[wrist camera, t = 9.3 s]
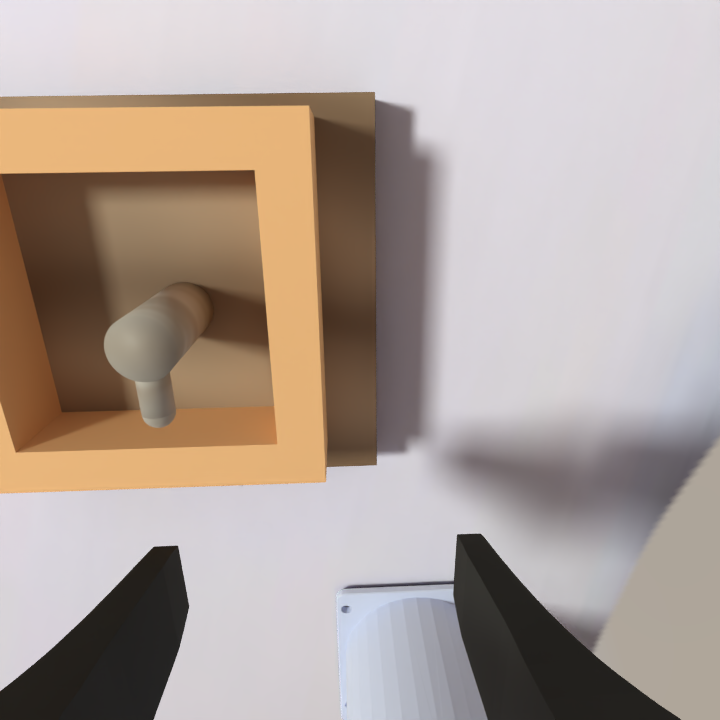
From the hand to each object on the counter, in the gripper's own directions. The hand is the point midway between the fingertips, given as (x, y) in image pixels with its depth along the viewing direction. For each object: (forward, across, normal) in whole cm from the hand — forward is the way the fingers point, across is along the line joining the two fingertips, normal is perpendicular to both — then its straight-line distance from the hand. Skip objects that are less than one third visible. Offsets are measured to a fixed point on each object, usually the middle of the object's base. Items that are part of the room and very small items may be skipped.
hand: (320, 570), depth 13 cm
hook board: (+9, +5, -5) cm, 12 cm away
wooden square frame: (+8, +6, -5) cm, 11 cm away
